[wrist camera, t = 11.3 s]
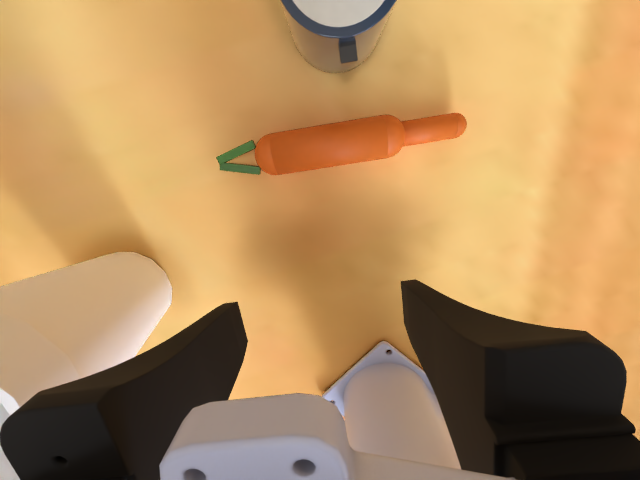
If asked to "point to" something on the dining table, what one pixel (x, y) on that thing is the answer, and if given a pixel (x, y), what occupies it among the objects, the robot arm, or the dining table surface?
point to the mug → (336, 30)
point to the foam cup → (75, 325)
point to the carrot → (341, 143)
